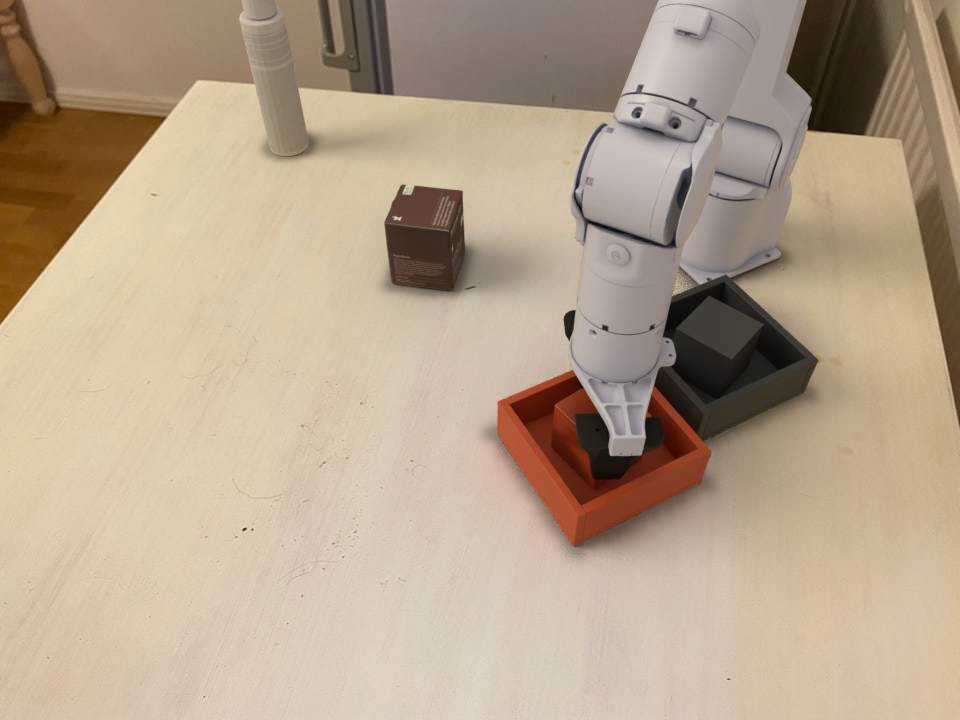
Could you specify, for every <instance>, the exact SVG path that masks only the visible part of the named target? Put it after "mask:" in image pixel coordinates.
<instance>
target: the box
mask: <svg viewBox="0 0 960 720" xmlns="http://www.w3.org/2000/svg"><path fill="white" fill-rule="evenodd" d="M383 225H384V233H385V234H384V235H385V242H386V251H387V259H388V265H389V273H390V274H389V275H390V282H391V283H392V284H394V285H402V286H411V287H418V288H428V289H433V290H434V289H435V290H441V291H453V289H454V287H455V285H456V282H457V279H458V277H459V273H460V269H461V266H462V264H463V259H464V257H465V254H466V241H465V240H466V239H465V237H466V235H465V213H464V190H460V189H450V188H443V187H441V188H440V187H434V186H433V187H432V186H423V185H416V184H415V185H413V184H400V186H399V188H398V190H397V192H396V195H395V197H394V198H393V200H392V202H391V204H390V209H389V211H388V213H387V215H386V217H385V219H384V223H383Z"/></svg>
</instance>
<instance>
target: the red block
mask: <svg viewBox="0 0 960 720" xmlns="http://www.w3.org/2000/svg"><path fill="white" fill-rule="evenodd" d="M592 413H599V412H598V410H597V409H596V407H595V405H594V404H593V402H592V400H591V399H590V397H589V396H588V394H587V392H586V391H585V389H584V388H582V389H581V390H579V391H577V392H576V393H574V394H572V395H570V396H569V397H567V398H565V399H564V400H562V401H560V402H558V403H557V404H555V408H554V419H553V430H552V441H551V447H552V448H553V449H554V450H555V451H556V452H557V453H558V454H559V455H560V456H561V457H562V458H563V459H564V460H565V461H566V462H567V463H568V464H569V465H570V466H571V467H572V468H573V469H574V470H575V471H576V472H577V473H578V474H579V475H580V476H581V477H582V478H583V479H584V480H585V481H586V482H587V483H588V484H589V485H590V486H591V487H592V488H593V489H595V488H596V487H598V486H599V485H601V484H602V483H604V482H605V481H607V480H595V479H593V477H592V474H591V470H590V462H589V455H588V454H587V452H586V451H585V450H583V449H582V448H581V446H580V444H579V441H578V438H577V431H576V423H575V414H592ZM646 417H652V416H651V415H650V414H649V413H648V412H647V413H646ZM642 457H643V455H642V456H640V457H639V458H638V459H636V460H635V461H634V462H636V461H637V460H639V459H640V458H642Z"/></svg>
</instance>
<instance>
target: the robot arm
mask: <svg viewBox="0 0 960 720" xmlns="http://www.w3.org/2000/svg"><path fill="white" fill-rule="evenodd" d="M806 4H807V0H658V1H657V3H656V6H655V8H654V11H653V14H652V16H651V19H650V21H649V24H648V26H647V29H646V31H645V33H644V36H643V38H642V41H641V44H640V46H639V48H638V51H637V53H636V56H635V59H634V61H633V63H632V66H631V69H630V72H629V74H628V76H627V79H626V81H625V83H624V86H623V89H622V91H621V94H620V96H619V98H618V102H617V104H616V106H615V109H614V112H613V115H612V118H611V121H610V123H609V124H607V123H606V122H600V123H598V124H597V125H596V126H595V127H594V128H593V129H592V131H591V132H590V134H589V136H588V137H587V139H586V141H585V142H584V145H583V148H582V150H581V153H580V156H579V158H578V161H577V164H576V168H575V172H574V176H573V183H572V189H571V191H570V197H569V204H570V205H569V207H570V213H571V215H572V217H573V218H574V219H575V234H574V239H575V240H576V242H578V243H579V244H580V245H581V246H582V249H581V257H580V267H579V277H578V285H577V295H576V296H577V297H576V303H575V309H572V310H569V311H567V312H566V313H565V314H564V316H563V328H564V335H565V337H566V338H567V340H568V342H569V343H568V349H567V350H568V351H567V359H568V362H569V365H570V367H571V370H573V371H574V373H575V374H576V376H577V377H578V379H579V383H580V389H582V388H584V389H585V391H586V392H587V394H588V396H589V397H590V399H591V400H592V402H593V404H594V405H595V407H596V409H597V410H598V412H599V413H592V414H575V423H576V431H577V438H578V441H579V444H580V446H581V448H582V449H583V450H585V451H586V452H587V454H588V455H589V462H590V470H591V474H592V477H593V479H595V480H609V479H621V478H622V476H623V475H624V474H625V473H626V471H627V470H628V469H629V468H630V466H631V465H632V464H633V463H634V461H635V460H636V459H638V458H639V457H640V456H642V455H643V454H645V453H647V452H650V451H652V450H655V449H658V448H659V447H660V446H661V444H662V442H663V439H664V431H663V426H662V421H661V417H646V413H647V409H648V406H649V402H650V398H651V394H652V391H653V387H654V383H655V379H656V376H657V372H658V370H659V368H661V367H664V366H672V365H673V364H674V363H675V359H676V352H675V348H674V344H673V342H672V340H671V339H669V338H662V337H663V333H664V329H665V324H666V320H667V316H668V312H669V307H670V303H671V299H672V296H673V293H674V290H675V285H676V281H677V278H678V273H679V268H681V269H682V270H683V271H684V272H685V273H686V274H687V275H688V276H689V277H690V278H691V279H692V280H694V281H695V282H696V284H698V285H701V284H703V283H706V282H708V281H711V280H713V279H715V278H718V277H720V276H723V275H725V274H726V275H727V276H728V277H729V278H731V279H732V278H734V277H736V276H738V275H741V274H743V273H746V272H748V271H751V270H753V269H755V268H758V267H761V266H763V265H765V264H767V263H770V262H772V261H775V260H777V259H779V258H780V257H781V255H782V252H781V250H779V249H778V248H777V244H778V240H779V238H780V235H781V233H782V229H783V227H784V223H785V221H786V217H787V215H788V212H789V209H790V206H791V203H792V199H793V188H792V187H793V186H792V181H791V176H792V173H793V171H794V169H795V167H796V164H797V161H798V159H799V156H800V154H801V151H802V148H803V145H804V143H805V139H806V137H807V132H808V129H809V126H808V123H809V120H810V116H811V113H812V110H813V109H812V108H813V107H812V105H811V103H812V98H811V96H810V95H809V94H808V92H806V91H805V90H804V89H803V88H802V86H800V85H799V84H798V83H797V82H796V81H795V80H794V78H792V76H790V75H789V74H788V72H787V70H788V67H789V64H790V60H791V56H792V52H793V49H794V46H795V42H796V39H797V35H798V33H799V28H800V25H801V22H802V18H803V15H804V11H805V7H806Z"/></svg>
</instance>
